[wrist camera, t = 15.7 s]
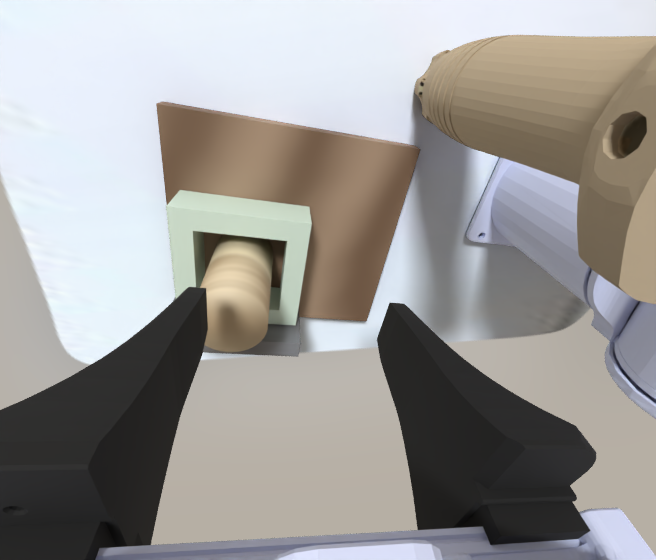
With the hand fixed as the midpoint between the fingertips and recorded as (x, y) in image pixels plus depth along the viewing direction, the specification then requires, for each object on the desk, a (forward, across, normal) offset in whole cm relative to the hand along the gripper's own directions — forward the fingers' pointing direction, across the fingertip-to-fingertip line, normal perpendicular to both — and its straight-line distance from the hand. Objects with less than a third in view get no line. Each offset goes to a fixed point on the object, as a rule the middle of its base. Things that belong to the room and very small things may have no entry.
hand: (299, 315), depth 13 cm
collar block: (+9, +3, +2) cm, 10 cm away
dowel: (+9, +3, +2) cm, 10 cm away
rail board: (+10, 0, +1) cm, 10 cm away
